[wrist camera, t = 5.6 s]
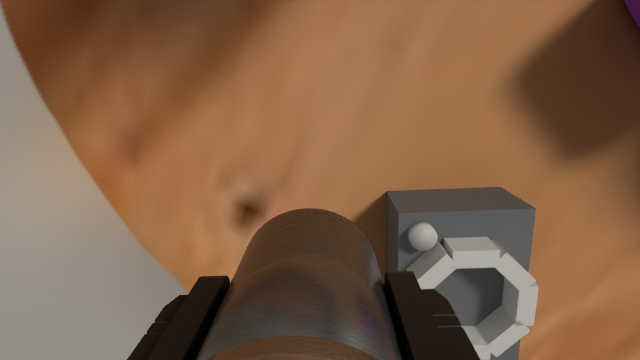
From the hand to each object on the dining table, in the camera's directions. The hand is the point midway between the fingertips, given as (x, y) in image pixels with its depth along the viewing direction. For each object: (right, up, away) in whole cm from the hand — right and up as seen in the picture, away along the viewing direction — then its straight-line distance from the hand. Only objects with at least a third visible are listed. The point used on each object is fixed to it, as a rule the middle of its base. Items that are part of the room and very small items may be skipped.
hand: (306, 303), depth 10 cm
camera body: (+10, -3, +20) cm, 23 cm away
